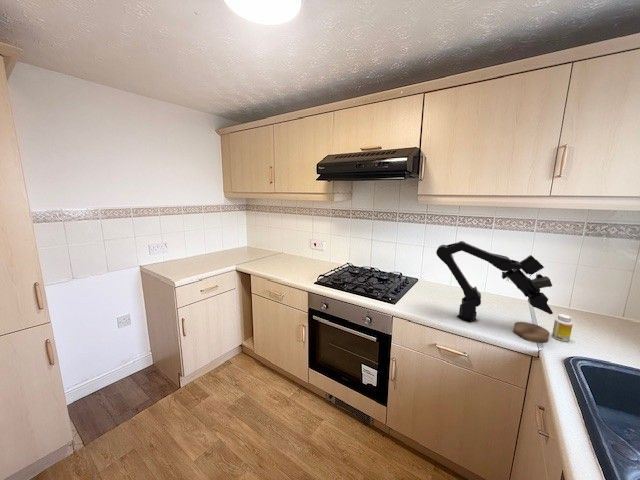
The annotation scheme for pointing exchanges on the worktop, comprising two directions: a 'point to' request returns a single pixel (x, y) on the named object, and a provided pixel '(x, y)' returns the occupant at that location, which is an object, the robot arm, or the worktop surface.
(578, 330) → the worktop surface
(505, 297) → the worktop surface
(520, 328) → the walnut platform
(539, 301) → the robot arm
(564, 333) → the supplement bottle
